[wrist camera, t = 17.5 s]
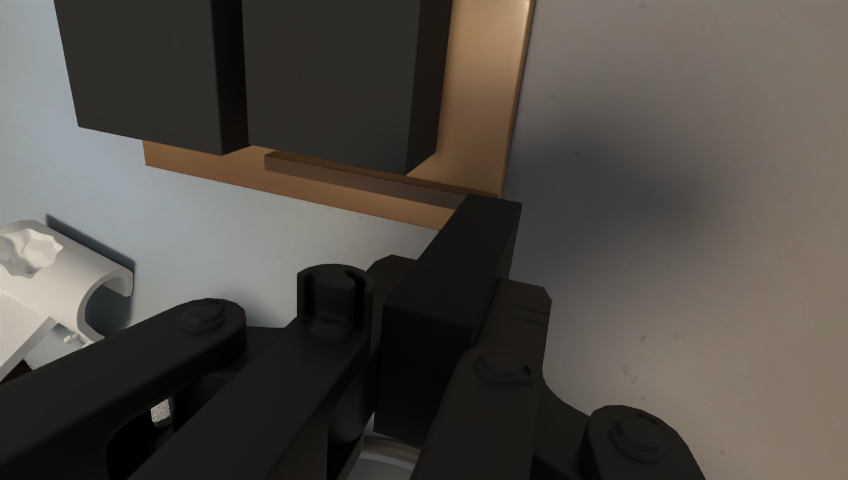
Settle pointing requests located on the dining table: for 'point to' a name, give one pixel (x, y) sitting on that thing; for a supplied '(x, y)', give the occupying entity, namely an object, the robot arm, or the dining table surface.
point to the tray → (456, 141)
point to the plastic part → (48, 288)
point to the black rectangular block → (346, 78)
